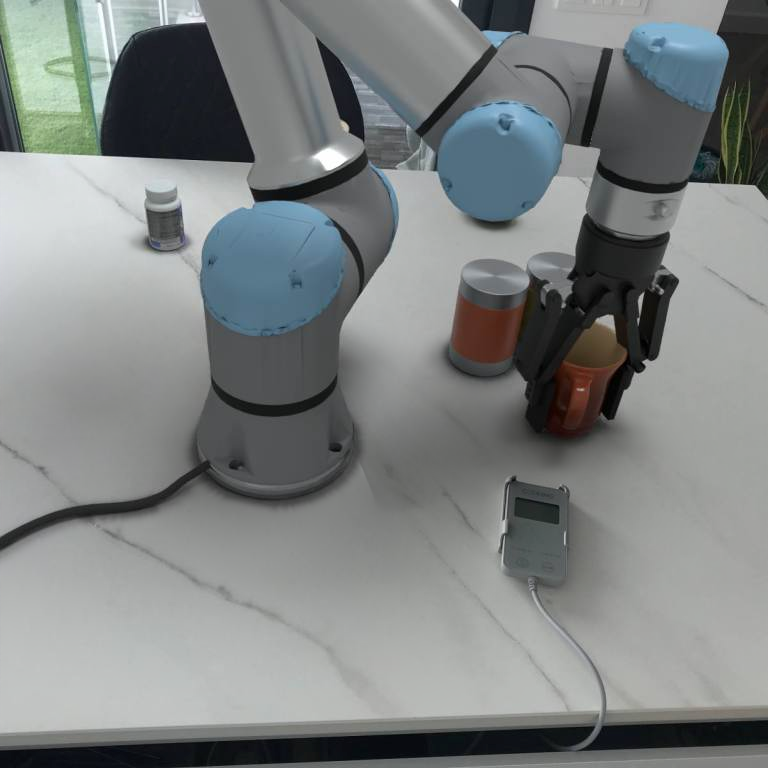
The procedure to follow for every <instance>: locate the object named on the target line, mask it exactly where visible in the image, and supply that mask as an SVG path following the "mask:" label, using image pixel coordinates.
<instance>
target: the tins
mask: <svg viewBox="0 0 768 768" xmlns="http://www.w3.org/2000/svg"><path fill="white" fill-rule="evenodd" d="M574 265H575V255H573V254H569V253H565V252H560V251H545V252H539V253H537V254H534V255H532V256H531V257H530V258H529V259H528V260H527V263H526V269H525V270H524V269H523V268H522V267H520V266H519V265H516V264H515V263H512V262H510V261H506V260H502V259H496V258H479V259H474V260H471V261H469V262H467V263H466V264H465V265H464V266H463V267H462V269H461V273H460V279H459V285H458V287H457V288H458V289H457V296H456V300H455V301H456V302H455V308H454V315H453V321H452V327H451V334H450V343H449V350H448V356H449V360H450V361H451V363H452V364H453V365H454V366H455V367H456V368H457V369H459V370H460V371H462V372H464V373H466V374H469V375H473V376H477V377H496V376H499V375H502V374H503V373H505V372H507V371H508V370H509V369H510V368H511V366H512V364H513V360H514V359H513V358H514V354H515V355H516V354H517V351H518V349H519V346H520V343H521V341H522V338H523V336H524V333H525V331H526V328H527V325H528V323H529V320H530V318H531V315H532V313H533V310H534V307H535V305H536V302H537V285H538V283H539V282H540V281H541V280H544V279H546V280H548V281H549V282H550V283H551V284H553V283H557V282H560V281H563V280H566V279H567V276H568V274H569V273H570V272H571V270H572V269H573V267H574ZM569 296H570V295H568V296H567V298H566V300H567V299H568V297H569ZM566 300H565V302H566ZM578 308H579V307H578ZM579 310H580V311H581V312H582V313H583V314H584V312H583V311H582V310H581V309H580V308H579ZM562 313H563V308H561V314H562ZM561 314H560V316H561Z"/></svg>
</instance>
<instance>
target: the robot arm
mask: <svg viewBox="0 0 768 768" xmlns="http://www.w3.org/2000/svg"><path fill="white" fill-rule="evenodd" d="M197 2H198V5H199V7H200V11H201V13H202V16H203V18H204V21H205V24H206V26H207V29H208V32H209V35H210V37H211V41H212V43H213V46H214V49H215V51H216V54H217V56H218V59H219V62H220V65H221V68H222V71H223V73H224V76H225V79H226V81H227V84H228V87H229V89H230V93H231V95H232V98H233V101H234V103H235V106H236V109H237V111H238V114H239V117H240V120H241V122H242V125H243V128H244V131H245V133H246V136H247V139H248V141H249V144H250V147H251V149H252V152H253V156H254V161H253V163H252V165H251V168H250V170H249V172H248V174H247V176H246V183H247V185H248V188H249V190H250V193H251V196H252V199H253V201H254V203H253V204H252V208H247V207H244V206H242V207H239V208H236V209H234V210H233V211H231V212H229V213H228V214H226V215H225V216H223V217H222V218H220V219H219V220H218V221H217V222H216V223H215V224H214V225H213V226H212V228H211V229H210V231H209V232H208V233H207V235H206V236H205V239H204V241H203V244H202V249H201V261H200V264H201V268H200V272H199V285H200V294H201V298H202V303H203V310H204V311H203V312H204V321H205V323H204V324H205V332H206V342H207V343H206V344H207V353H208V363H209V374H210V385H209V389H208V392H207V395H206V397H205V400H204V404H203V407H202V410H201V413H200V416H199V420H198V423H197V427H196V433H195V434H196V446H197V454H198V457H199V460H200V464H198V465H197V466H195V467H193V468H192V469H191V470H189V471H187V472H186V473H184V474H183V475H181V476H179V477H178V478H177V479H176V480H175V481H174V482H172V483H171V484H170V485H169V486H167V487H166V488H164V489H162V490H161V491H159V492H157V493H154V494H152V495H151V494H150V495H148V496H146V497H145V496H144V497H142V498H137V499H133V500H126V501H115V502H103V503H102V502H101V503H99V502H98V503H89V504H81V505H75V506H70V507H66V508H61V509H59V510H56V511H52V512H50V513H46V514H44V515H42V516H39V517H37V518H34V519H32V520H30V521H28V522H25V523H23V524H21V525H19V526H17V527H15V528H14V529H12V530H9V531H8V532H6V533H4V534H3V535H1V536H0V549H1V548H3V547H4V546H6V545H7V544H9V543H11V542H13V541H14V540H17V539H18V538H20V537H22V536H24V535H26V534H28V533H30V532H32V531H34V530H36V529H39V528H41V527H44V526H46V525H48V524H52V523H54V522H56V521H60V520H63V519H65V518H71V517H74V516H78V515H79V516H81V515H86V514H87V515H88V514H96V513H97V514H98V513H111V512H122V511H123V512H124V511H129V510H130V511H131V510H136V509H141V508H144V507H149V506H151V505H154V504H157V503H160V502H162V501H164V500H166V499H167V498H169V497H171V496H172V495H173V494H175V493H176V492H178V491H179V490H180V489H181V488H182V487H184V486H185V485H187V484H188V483H190V482H191V481H193V480H194V479H195V478H197V477H198V476H200V475H202V474H203V473H204V472H206V473H207V474H208V475H209V476H210V478H212V479H213V480H214V481H216V482H217V483H218V484H219V485H221V486H222V487H224V488H226V489H228V490H230V491H233V492H235V493H237V494H240V495H242V496H243V495H244V496H248V497H251V498H258V499H268V500H269V499H271V500H273V499H274V500H275V499H276V500H277V499H288V498H295V497H299V496H303V495H306V494H309V493H313V492H315V491H317V490H319V489H321V488H323V487H324V486H326V485H328V484H330V483H331V482H332V481H333V480H335V479H336V478H337V477H338V476H339V475H341V473H342V472H343V471H344V470H345V468H346V467H347V465H348V463H349V462H350V459H351V457H352V454H353V449H354V437H355V428H354V422H353V419H352V415H351V412H350V410H349V408H348V404H347V403H346V402H347V401H346V399H345V397H344V394H343V391H342V389H341V385H340V383H339V380H338V379H339V359H340V358H339V357H340V340H341V339H340V338H341V337H340V336H341V331H342V326H343V324H344V321H345V319H346V318H347V316H348V315H349V313H350V312H351V310H352V309H353V306H354V305H355V303H356V302H357V301H358V300H359V297H360V296H361V294H362V293H363V292H364V290H365V288H366V287H367V285H368V284H369V282H370V281H371V279H372V278H373V277H374V275H375V274H376V272H377V271H378V269H379V268H380V267H381V265H382V264H383V263H384V262H385V259H386V258H387V257H388V255H389V253H390V252H391V249H392V247H393V243H394V240H395V237H396V235H397V231H398V227H399V222H400V221H399V220H400V210H399V202H398V197H397V195H396V192H395V189H394V187H393V184H392V182H391V181H390V180H389V178H388V176H387V175H386V173H384V171H383V170H381V168H378V167H376V166H375V165H374V164H372V162H371V160H370V159H369V156H368V153H367V149H366V146H365V144H364V141H363V140H362V139H361V138H359V137H357V136H356V135H354V134H353V133H350V132H347V131H345V130H344V129H343V128H342V125H341V121H340V120H341V118H340V114H339V112H338V108H337V104H336V102H335V98H334V95H333V92H332V89H331V85H330V81H329V78H328V75H327V72H326V68H325V65H324V61H323V58H322V55H321V51H320V48H319V45H318V41H317V40H319V42H321V44H323V45H324V46H325V47H326V48H327V49H328V50H330V52H331V53H332V54H333V55H334V56H335V57H337V58H338V59H339V60H340V62H341V63H342V64H343V65H345V66H346V67H347V68H348V69H349V70H350V71H351V72H352V73H353V74H354V75H355V76H356V77H357V78H358V79H359V80H360V81H361V82H362V83H363V84H364V85H366V86H367V87H368V89H370V90H371V91H372V92H373V93H374V94H375V95H376V96H377V97H378V98H379V99H380V100H381V101H382V102H383V103H384V104H385V105H386V106H388V108H389V109H391V111H392V112H393V113H394V114H396V116H398V117H399V118H400V119H401V120H402V121H403V122H404V123H405V124H406V125H407V126H408V127H409V128H410V129H411V130H412V131H413V132H415V134H416V135H417V136H418V137H419V138H420V139H421V140H422V141H423V142H424V143H425V144H426V145H427V146H428V148H429V149H431V150H432V152H434V154H436V155H437V163H436V164H437V167H436V169H437V174H438V178H439V182H440V185H441V187H442V189H443V191H444V194H445V195H446V197H447V199H448V200H449V201H450V202H451V203H452V204H453V205H454V206H455V208H457V209H458V210H459V211H461V212H462V213H464V214H466V215H468V216H470V217H473V218H475V219H478V220H482V221H487V222H492V221H497V222H504V221H510V220H512V219H515V218H518V217H520V216H522V215H524V214H525V213H527V212H529V211H530V210H532V209H534V208H536V206H537V205H538V203H539V202H540V201H541V200H542V198H543V197H544V195H545V194H546V192H547V191H548V188H549V187H550V185H551V184H552V181H553V179H554V178H555V176H556V175H557V174H558V173H559V171H560V166H561V165H562V162H563V152H564V151H563V150H564V147H565V145H570V146H576V147H582V148H593V149H598V150H599V155H598V158H597V162H596V165H595V169H594V173H593V177H592V180H591V183H590V187H589V191H588V195H587V199H586V202H585V212H586V213H585V214H584V215H583V217H582V220H581V222H580V223H581V224H580V228H579V232H578V235H577V239H576V243H575V247H574V248H575V249H574V250H575V251H574V252H575V253H574V256H575V265H574V267H573V269H572V270H571V272H570V273H569V274H568V276H567V279H566V280H563V281H560V282H557V283H553V284H551V283H550V282H549V281H548V280H546V279H544V280H541V281H540V282H539V283H538V285H537V302H536V305H535V307H534V310H533V313H532V315H531V318H530V320H529V323H528V325H527V328H526V331H525V333H524V336H523V338H522V341H521V343H520V346H519V349H518V351H517V354H515V356H514V359H513V361H512V365H513V367H514V368H515V369H516V371H517V372H518V374H519V375H520V376H521V378H522V379H523V380H524V382H526V387H525V391H524V398H525V399H526V401H527V406H526V411H525V415H524V418H525V419H526V421H527V422H528V424H529V426H530V427H531V428H532V429H533V431H534V433H535V434H536V435H540V434H543V433H544V431H545V430H544V428H545V424H546V420H547V417H548V413H549V409H550V406H551V402H552V398H553V394H554V391H555V387H556V382H555V381H554V380H553V378H552V376H553V375H554V373H555V372H556V370H557V369H558V368H559V366H560V365H561V363H562V362H563V360H564V359H565V357H566V356H567V354H568V353H569V352H570V350H571V349H572V347H573V346H574V344H575V343H576V341H577V340H578V338H579V337H580V336H581V334H582V333H583V331H584V330H585V329H590V328H591V327H592V325H593V324H594V322H595V321H596V322H597V319H599V318H602V317H605V316H612V317H613V324H614V331H615V332H616V340H617V343H619V344H620V345H621V346H622V347H624V348H625V349H627V351H628V355H627V358H626V360H625V361H624V362H623V364H622V365H621V366H620V367H619V368H618V370H617V371H616V372H615V374H614V375H613V377H612V379H611V381H610V383H609V387H608V390H607V394H606V398H605V401H604V404H603V407H602V411H601V414H602V415H603V416H604V418H605V419H606V421H614V420H615V418H616V416H617V413H618V410H619V406H620V404H621V401H622V398H623V395H624V392H625V391H626V390H628V389H629V388H630V386H631V384H632V381H633V378H634V375H635V373H636V374H641V373H643V372H644V371H645V370H646V368H647V365H646V364H645V363H644V362H645V361H647V360H648V361H649V362H653V361H656V360H657V359H658V358H659V355H660V351H661V348H662V347H661V346H662V341H663V337H664V331H665V327H666V323H667V316H668V312H669V307H670V302H671V299H672V297H673V295H674V294H675V291H676V289H677V287H678V285H679V284H680V279H679V278H678V277H677V276H676V275H675V274H674V273H672V272H671V270H669V269H668V268H667V267H666V266H665V265H663V264H662V263H663V260H664V256H665V254H666V252H667V251H666V250H667V249H668V244H669V242H670V239H671V232H670V231H671V230H672V229H673V227H674V225H675V223H676V221H677V217H678V214H679V212H680V210H681V209H680V208H681V205H682V202H683V200H684V196H685V194H686V190H687V187H688V185H689V181H690V178H691V175H692V173H693V170H694V167H695V164H696V161H697V158H698V156H699V153H700V151H701V147H702V146H703V145H702V144H703V141H704V139H705V136H706V133H707V130H708V127H709V125H710V122H711V119H712V116H713V113H714V112H715V109H716V108H717V105H716V104H717V99H718V96H719V92H720V88H721V86H722V82H723V79H724V75H725V71H726V68H727V65H728V60H729V57H730V52H729V49H728V47H727V44H726V42H725V40H723V38H722V37H721V36H720V35H717V34H716V33H715V32H712V31H710V30H708V29H705V28H702V27H699V26H695V25H691V24H687V23H680V22H675V21H674V22H672V21H670V22H661V21H648V22H643V23H640V24H637V25H636V26H635V27H633V28H632V29H631V31H630V33H629V36H628V39H627V41H626V42H625V43H624V46H623V47H622V48H621V47H613V48H612V47H611V48H610V47H604V46H598V45H592V44H585V43H578V42H573V41H567V40H560V39H555V38H549V37H542V36H537V35H531V34H527V33H525V32H523V31H520V30H514V31H510V32H509V31H498V30H482V31H481V30H480V29H479V28H478V26H476V25H475V23H473V22H472V20H471V19H470V18H469V17H468V16H467V15H465V13H464V12H463V11H462V10H461V9H460V8H459V7H458V6H457V5H456V4H455V3H454V2H453V1H452V0H197ZM642 294H643V295H642ZM568 295H570V296H569V297H568V299H567V300H566V298H567V296H568ZM641 295H642V296H643V297H642V303H641V309H640V307H639V299H640V297H641ZM565 300H566V302H565ZM578 307H579V308H580V309H581V310H582V311H583V312H584V314H583V313H582V312H581V311H580V310H579V308H578ZM561 308H563V313H562V314H561ZM560 314H561V316H560Z"/></svg>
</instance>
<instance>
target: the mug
mask: <svg viewBox="0 0 768 768" xmlns="http://www.w3.org/2000/svg"><path fill="white" fill-rule="evenodd" d="M627 355H628V351H627V349H625V348H624V347H622V346H621V345H620V344H619V343H617V340H616V332H615V329H612V328H611V327H609V326H608V325H606V324H603V323H602V322H599V321H597V320H596V321H595V322H594V324H593V325H592V327H591V328H590V329H585V330H584V331H583V333H582V334H581V336H580V337H579V338H578V340H577V341H576V343H575V344H574V346H573V347H572V349H571V350H570V352H569V353H568V354H567V356H566V357H565V359H564V360H563V362H562V363H561V365H560V366H559V368H558V369H557V370H556V372H555V373H554V375H553V376H552V378H553V380H554V381H555V382H556V387H555V391H554V394H553V398H552V402H551V406H550V409H549V413H548V417H547V420H546V424H545V428H544V431H545V432H547V433H549V434H551V435H554V436H557V437H560V438H561V437H562V438H577V437H580V436H581V437H582V436H583V435H586V434H588V433H589V432H590V431H591V430H593V428H594V426H595V425H596V423H598V420H599V418H600V416H601V414H602V413H601V411H602V407H603V404H604V401H605V398H606V394H607V390H608V387H609V383H610V381H611V379H612V377H613V375H614V374H615V372H616V371H617V370H618V368H619V367H620V366H621V365H622V364H623V362H624V361H625V360H626V358H627Z"/></svg>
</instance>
